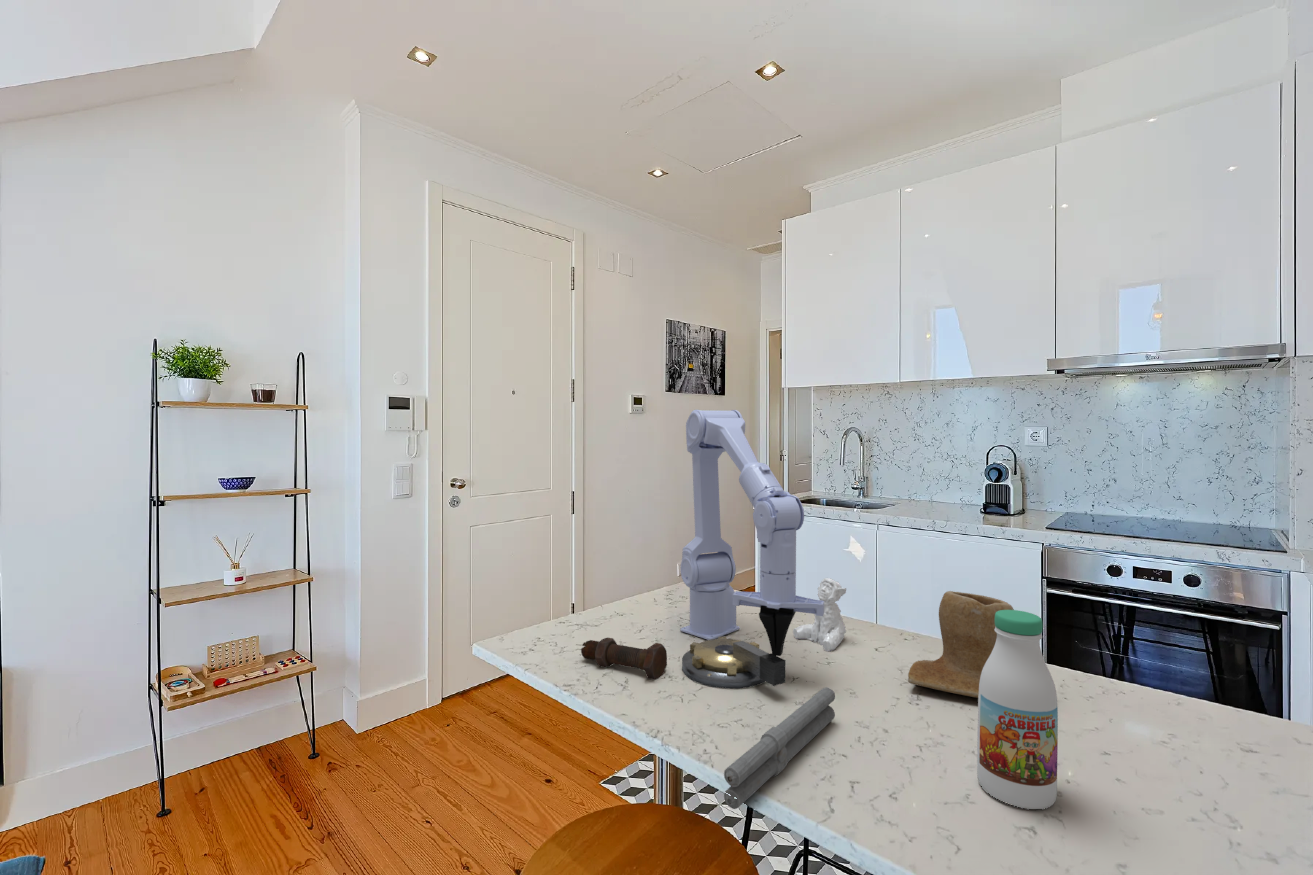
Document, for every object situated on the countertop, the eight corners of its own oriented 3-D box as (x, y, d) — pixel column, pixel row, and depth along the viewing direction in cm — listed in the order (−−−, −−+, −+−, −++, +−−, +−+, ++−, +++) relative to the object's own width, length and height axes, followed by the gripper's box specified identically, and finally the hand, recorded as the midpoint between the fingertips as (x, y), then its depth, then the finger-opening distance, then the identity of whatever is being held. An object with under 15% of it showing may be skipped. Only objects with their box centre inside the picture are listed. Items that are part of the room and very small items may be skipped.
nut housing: (719, 645, 112) (719, 637, 112) (789, 668, 102) (789, 659, 102) (663, 669, 102) (663, 659, 102) (735, 697, 91) (735, 686, 91)
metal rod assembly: (818, 717, 85) (818, 682, 85) (837, 724, 83) (837, 688, 83) (718, 808, 65) (718, 762, 65) (740, 818, 63) (740, 771, 63)
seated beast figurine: (790, 637, 117) (790, 575, 117) (821, 629, 122) (821, 570, 121) (828, 653, 109) (829, 587, 109) (860, 643, 114) (860, 580, 113)
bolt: (588, 668, 107) (663, 683, 99) (572, 662, 103) (649, 678, 96) (597, 635, 109) (670, 647, 102) (582, 628, 105) (657, 640, 98)
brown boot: (1018, 684, 96) (1019, 590, 96) (1022, 716, 85) (1023, 611, 85) (914, 666, 103) (915, 578, 103) (906, 693, 93) (908, 596, 92)
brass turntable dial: (675, 654, 103) (675, 631, 103) (735, 641, 110) (735, 619, 110) (745, 698, 87) (745, 670, 87) (811, 678, 94) (811, 653, 94)
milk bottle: (962, 772, 72) (964, 605, 71) (1024, 769, 72) (1026, 603, 72) (1005, 814, 64) (1008, 627, 63) (1074, 810, 65) (1077, 625, 64)
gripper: (727, 571, 97) (727, 655, 97) (820, 580, 92) (819, 669, 92) (739, 562, 104) (738, 640, 104) (826, 570, 98) (825, 653, 98)
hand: (777, 653), depth 98 cm, fingers closed
